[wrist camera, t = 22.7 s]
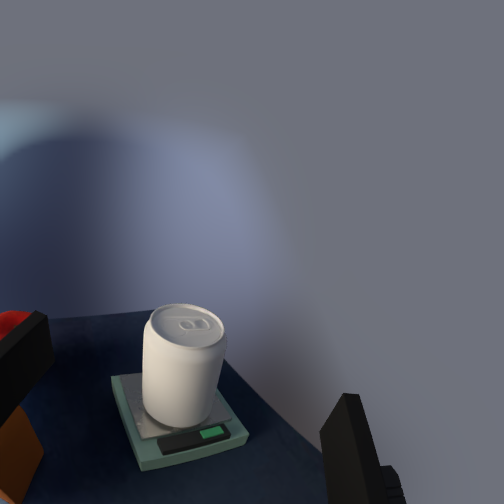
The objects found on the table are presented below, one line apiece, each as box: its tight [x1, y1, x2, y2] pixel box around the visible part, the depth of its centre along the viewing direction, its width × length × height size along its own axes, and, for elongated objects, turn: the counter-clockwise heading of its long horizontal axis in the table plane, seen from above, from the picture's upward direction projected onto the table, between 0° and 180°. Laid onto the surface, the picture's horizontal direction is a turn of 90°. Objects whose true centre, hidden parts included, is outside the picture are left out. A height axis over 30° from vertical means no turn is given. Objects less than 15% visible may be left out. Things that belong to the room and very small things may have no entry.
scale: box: [111, 376, 249, 471], centre depth 31 cm, size 13×13×4 cm
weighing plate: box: [119, 373, 232, 441], centre depth 32 cm, size 10×11×1 cm
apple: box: [0, 311, 32, 340], centre depth 28 cm, size 9×9×8 cm
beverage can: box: [142, 303, 227, 428], centre depth 29 cm, size 8×8×12 cm
